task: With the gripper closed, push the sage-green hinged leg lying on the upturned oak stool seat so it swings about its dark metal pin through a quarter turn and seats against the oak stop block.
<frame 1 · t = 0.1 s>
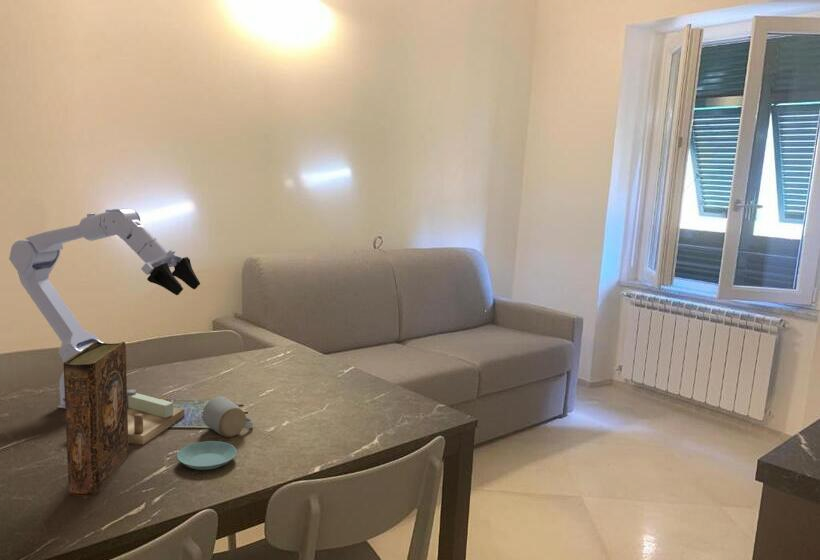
hand: (188, 289, 148), 32 cm above the table, tool tilted 50°, fingers open, 7 cm apart
saucer: (207, 463, 131), on the table
leg: (146, 403, 151), point 4 cm above the table, hinge at 75.0°
ceramic mug: (229, 431, 147), on the table
book: (99, 475, 123), on the table
stool seat: (131, 425, 147), on the table
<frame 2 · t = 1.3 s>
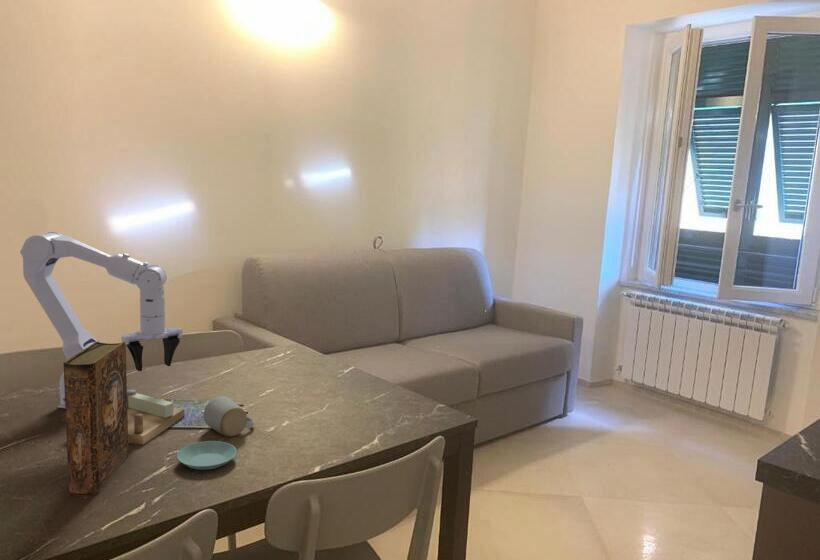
hand: (153, 367, 159), 10 cm above the table, tool pointing down, fingers open, 7 cm apart
nothing on the table moved.
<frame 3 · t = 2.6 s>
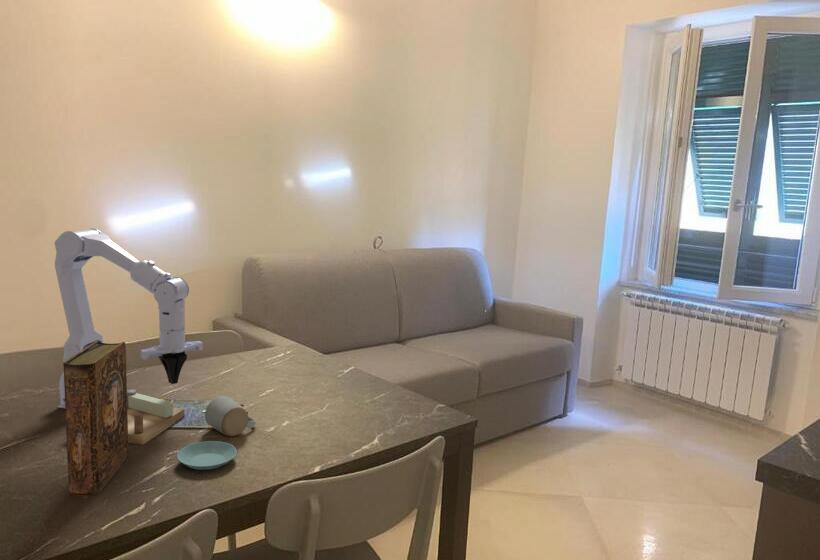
hand: (173, 382, 153), 8 cm above the table, tool pointing down, fingers closed
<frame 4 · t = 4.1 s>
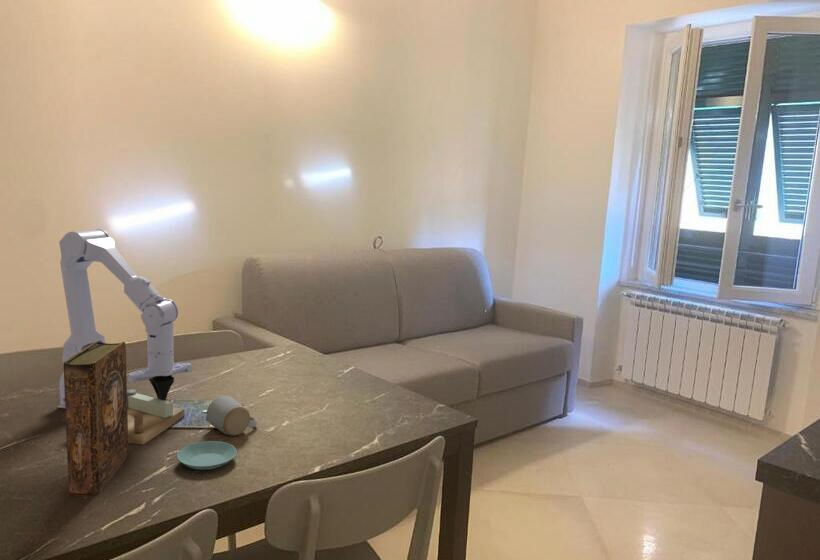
hand: (161, 405, 152), 3 cm above the table, tool pointing down, fingers closed, pressing on leg
leg: (146, 403, 151), point 4 cm above the table, hinge at 74.3°, touching gripper
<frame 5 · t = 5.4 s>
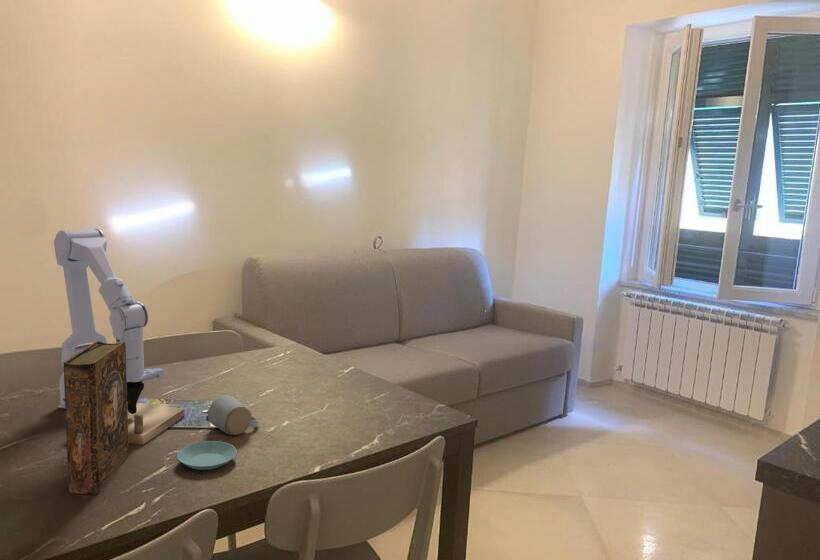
hand: (131, 412, 146), 3 cm above the table, tool pointing down, fingers closed, pressing on leg
leg: (123, 407, 148), point 4 cm above the table, hinge at 19.6°, touching gripper
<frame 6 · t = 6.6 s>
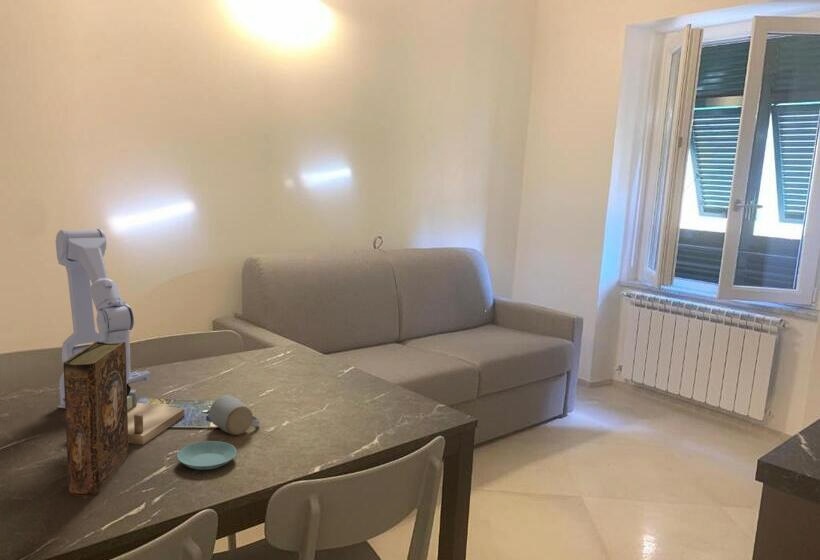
hand: (117, 416, 144), 3 cm above the table, tool pointing down, fingers closed
leg: (115, 406, 148), point 4 cm above the table, hinge at 2.1°, touching gripper
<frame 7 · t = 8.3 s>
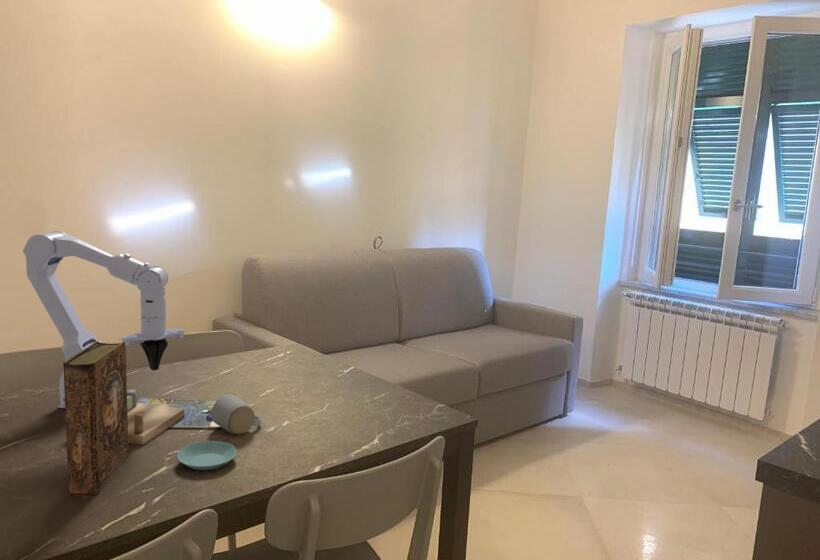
hand: (154, 369, 158), 10 cm above the table, tool pointing down, fingers closed
leg: (115, 406, 148), point 4 cm above the table, hinge at 1.7°
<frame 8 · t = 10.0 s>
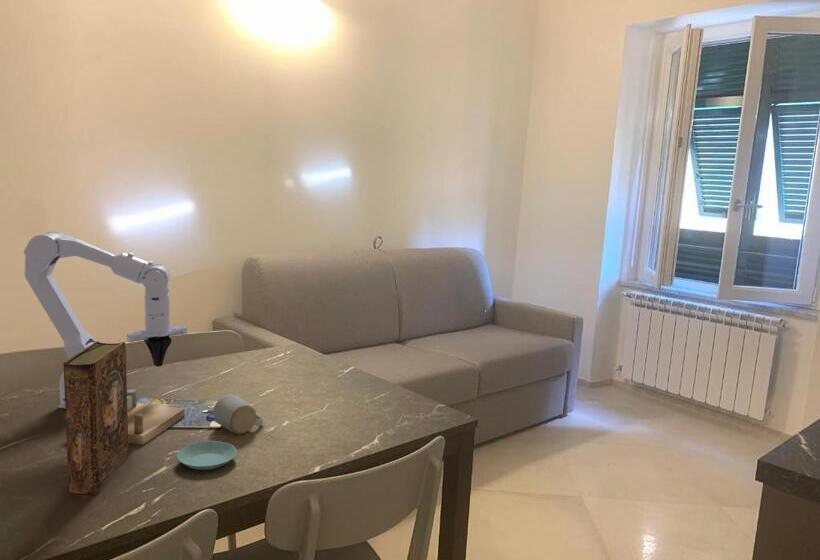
hand: (158, 365, 161), 10 cm above the table, tool pointing down, fingers closed
at the end: leg at +2° (first picture: +75°) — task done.
